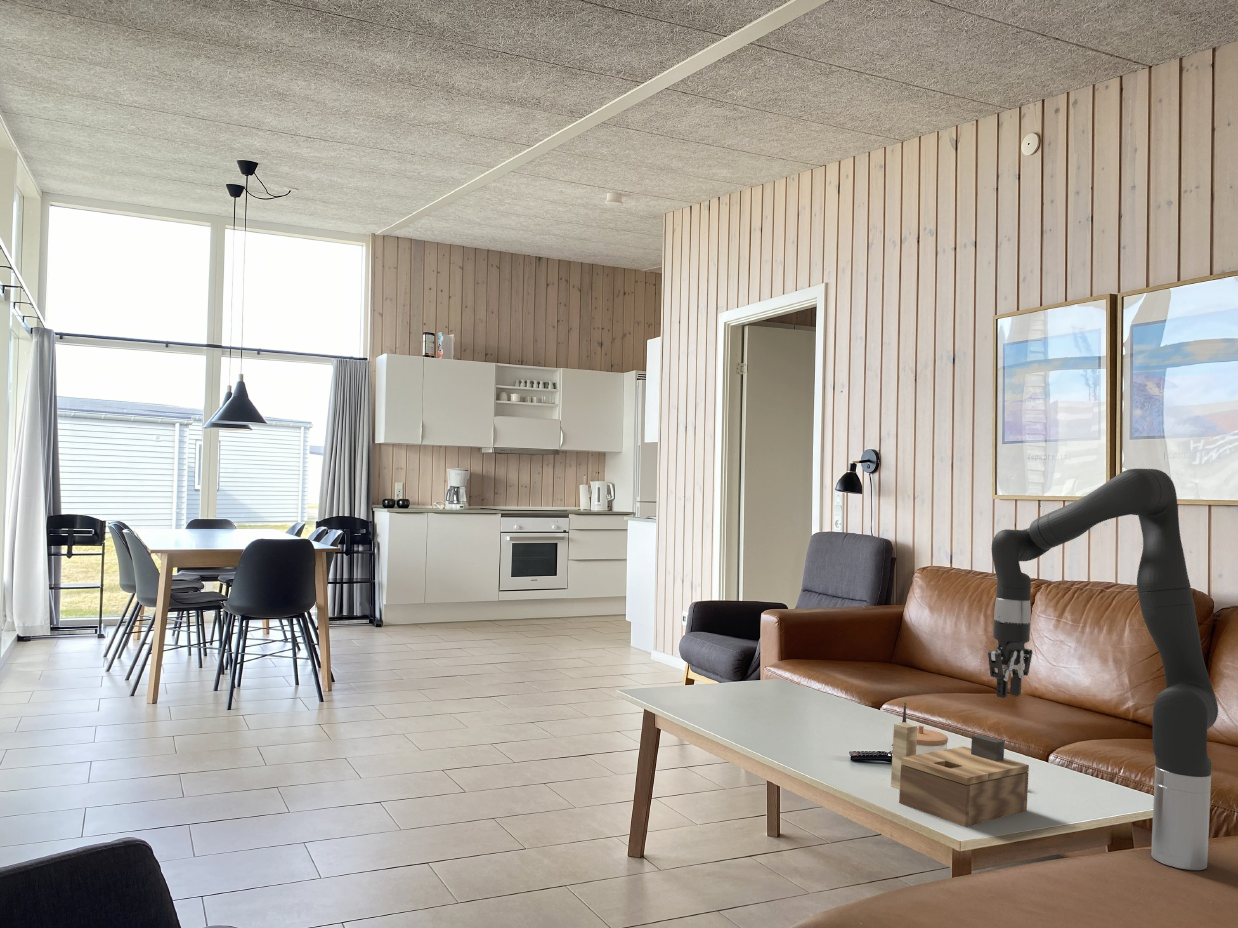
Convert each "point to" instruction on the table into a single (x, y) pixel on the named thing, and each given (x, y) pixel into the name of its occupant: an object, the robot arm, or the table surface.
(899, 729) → the key peg
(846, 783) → the table surface
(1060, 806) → the table surface
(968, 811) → the wooden rectangular box
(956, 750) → the wooden box lid
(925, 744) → the lidded bowl
